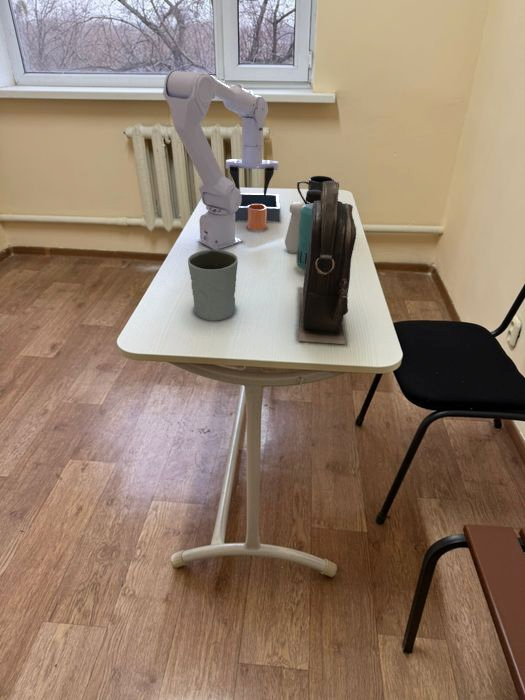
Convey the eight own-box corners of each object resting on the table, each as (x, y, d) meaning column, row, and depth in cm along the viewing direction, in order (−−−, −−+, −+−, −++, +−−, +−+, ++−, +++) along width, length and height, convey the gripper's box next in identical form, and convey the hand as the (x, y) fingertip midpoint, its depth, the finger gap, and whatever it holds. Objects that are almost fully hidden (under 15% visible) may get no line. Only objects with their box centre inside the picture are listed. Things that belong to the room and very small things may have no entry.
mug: (294, 204, 161) (295, 175, 156) (328, 204, 162) (331, 175, 156) (296, 212, 154) (298, 182, 149) (333, 212, 155) (336, 183, 150)
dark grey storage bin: (279, 222, 147) (279, 208, 144) (235, 221, 146) (235, 207, 144) (277, 207, 158) (278, 194, 155) (237, 206, 157) (237, 193, 155)
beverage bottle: (322, 266, 122) (331, 188, 110) (318, 278, 117) (327, 197, 105) (298, 263, 123) (304, 185, 111) (292, 274, 118) (298, 193, 106)
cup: (255, 233, 139) (256, 211, 135) (243, 227, 142) (244, 206, 139) (269, 228, 142) (270, 207, 138) (257, 223, 145) (258, 202, 142)
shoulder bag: (299, 288, 112) (310, 165, 96) (338, 290, 112) (355, 167, 95) (298, 342, 94) (311, 201, 77) (344, 345, 93) (367, 204, 77)
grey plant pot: (195, 324, 98) (192, 272, 91) (187, 301, 106) (184, 251, 99) (243, 318, 100) (243, 266, 93) (232, 296, 108) (231, 246, 101)
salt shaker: (305, 255, 127) (309, 207, 120) (284, 254, 127) (287, 206, 120) (304, 246, 132) (308, 200, 125) (284, 245, 132) (286, 199, 125)
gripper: (278, 142, 133) (276, 190, 141) (226, 140, 132) (227, 189, 140) (278, 148, 127) (276, 198, 135) (224, 146, 127) (225, 197, 135)
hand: (251, 194), depth 137 cm, fingers open, 7 cm apart
